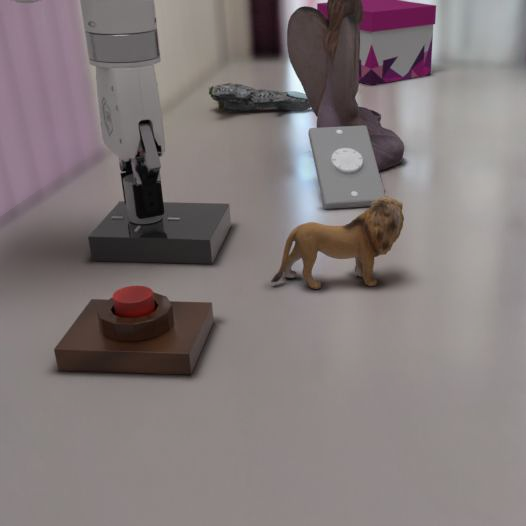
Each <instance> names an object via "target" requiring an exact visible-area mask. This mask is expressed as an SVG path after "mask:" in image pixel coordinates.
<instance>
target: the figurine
mask: <svg viewBox="0 0 526 526" xmlns="http://www.w3.org/2000/svg"><path fill="white" fill-rule="evenodd" d="M326 3H327V15H328V19H326V18H325V17H324V15H323V14H322V13H321V12H320V11H319V10H317V8H315V7H312V6H306V5H304V6H300V7H298V8H296V10H294V12H292V14H291V15H290V17H289V19H288V22H287V29H286V47H287V54H288V58H289V62H290V64H291V66H292V69H293V71H294V73H295V75H296V77H297V78H298V81H299V82H300V84H301V87H302V89H303V91H304V94H306V97H307V99H308V102H309V104H310V106H311V107H310V108H311V110H312V112H313V114H314V115H315V116H316V128H324V127H344V126H364V125H365V126H366V127H367V130H368V134H369V137H370V141H371V145H372V148H373V152H374V156H375V159H376V163H377V167H378V171H379V172H381V171H384V170H386V169H391V168H393V167H395V166H398V165H399V164H400V163H401V162H402V160H403V157H404V154H405V144H404V141H402V139H401V137H400V136H398V134H396V132H395V131H393V130H391V129H389V128H386V127H383V126H382V124H381V120H382V114H380V113H379V112H377V111H375V110H373V109H369V108H368V107H364V106H359V104H358V102H357V100H356V96H357V93H358V92H359V87H360V82H359V59H360V29H359V25H360V24H361V23H362V20H363V17H364V13H363V5H362V1H361V0H327V1H326Z"/></svg>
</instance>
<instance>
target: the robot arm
mask: <svg viewBox="0 0 526 526" xmlns="http://www.w3.org/2000/svg"><path fill="white" fill-rule="evenodd" d="M11 1H12V2H15V3H19V4H33V3H37V2H40V1H42V0H11ZM79 2H80V9H81V15H82V22H83V29H84V35H85V36H84V37H85V43H86V48H87V55H88V62H89V65H90V66H93V67H95V79H96V92H97V103H98V113H99V120H100V121H99V122H100V131H101V137H102V141H103V143H104V145H105V146H106V147H107V148H108V149H109V150H110V151H111V152H112V153H113V154H114V155H115V156H116V157H117V158H118V164H119V170H120V181H121V188H122V195H123V201H124V202H125V204H126V198H125V191H124V184H123V178H124V177H125V176H127V175H130V174H133V175H134V181H135V184H134V185H132V187H133V195H134V202H135V210H136V216H137V217H138V218H139V219H144V218H149V217H155V216H161V215H163V214H164V204H163V202H164V197H163V189H162V178H161V172H160V171H161V168H162V163H161V160H160V158H161V157H163V155H164V154H165V152H166V140H165V129H164V121H163V113H162V107H161V100H160V99H161V98H160V94H159V93H160V92H159V88H158V86H159V85H158V81H157V75H156V71H155V65H156V64H158V63H160V62H161V61H162V60H161V50H160V40H159V30H158V23H157V14H156V5H155V0H79Z"/></svg>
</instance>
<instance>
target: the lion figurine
mask: <svg viewBox="0 0 526 526" xmlns="http://www.w3.org/2000/svg"><path fill="white" fill-rule="evenodd" d="M404 221H405V217H404V214H403V202H401V201H398V200H397V199H396V198H393V197H389V196H385V197H381V198H380V199H376V200H375V201H373V202H371V206H369V209H366V210H364V211H363V213H361V214H358V216H356V217H355V218H354V219H352V220H351V221H350V222H348V223H347V224H343V225H328V224H323V223H319V222H316V221H309V222H308V221H307V222H305V223H302V224H298V225H297V226H296V227H295V228H293V229H292V231H290V233H289V235H288V237H287V239H286V242H285V245H284V249H283V253H282V259H281V264H280V267H279V269H278V271H277V273H276V274H275V275H274V276H273V277H272V279H270V282H271V283H278V282H279V281H280V280H281V278H282V277H283V275H284V277H286V278H290V279H294V278H296V277H297V275H298V274H297V273H298V272H297V271H295V270H292V267H293V265H294V264H295V263H297V261H299V260H302V265H303V267H302V271H301V274H302V276H303V278H304V279H305V281H306V283H307V285H308V286H309V287H310V288H311V289H315V290H319V289H321V288H322V283H321V281H319V280H315V279H314V277H313V274H312V273H313V272H312V271H313V268H314V265H315V263H316V260H317V258H318V252H321V253H322V254H324V255H325V256H326V257H329V258H332V259H336V260H348V259H349V260H350V259H355V261H354V262H355V267H354V272H355V274H356V276H358V277H362V279H363V281H364V284H365V285H367V286H369V287H375V286H376V285H377V283H378V281H377V280H376V279H375V278H372V275H373V270H374V266H375V258H376V257H379V256H383V255H384V256H385V255H387V254H388V252H390V251H391V250H392V247H393V246H394V243H396V241H397V240H398V239H399V238H400V235H401V232H402V229H403V227H404ZM293 243H294V246H293ZM292 246H293V248H292ZM291 248H292V250H291Z"/></svg>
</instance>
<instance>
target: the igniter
mask: <svg viewBox="0 0 526 526" xmlns="http://www.w3.org/2000/svg"><path fill="white" fill-rule="evenodd" d="M153 295H154V303H155V311H154V312H152V313H151V314H149V315H146V316H142V317H137V318H122V317H119V316H116V314H115V310H114V304H113V297H110V298H109V299H106V298H105V299H103V298H102V299H101V298H99V299H98V298H92V299H90V301H89V302H88V303H87V304H86V306H85V307H84V308H83V309H82V311H81V313H80V314H79V315H78V316H77V318H76V319H75V320H74V322H73V323H72V324H71V326H70V327H69V328H68V330H67V331H66V332H65V334H64V335H63V337H62V338H61V339H60V340H59V342H58V343H57V345H56V346H55V347H54V348H53V351H54V356H55V361H56V365H57V370H58V371H60V372H61V371H64V372H66V371H67V372H90V373H91V372H94V373H96V372H97V373H123V374H124V373H126V374H127V373H128V374H156V375H158V374H159V375H184V376H185V375H186V376H187V375H189V376H190V375H192V374H193V372H194V369H195V367H196V365H197V362H198V361H199V357H200V355H201V353H202V350H203V349H204V346H205V344H206V341H207V340H208V336H209V334H210V332H211V329H212V327H213V325H214V323H215V320H214V310H213V309H214V308H213V302H211V301H210V302H209V301H208V302H207V301H177V300H176V301H171V300H170V299H169V298H168V297H167V296H166V295H164V294H160V293H157V292H155V291H153Z"/></svg>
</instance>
